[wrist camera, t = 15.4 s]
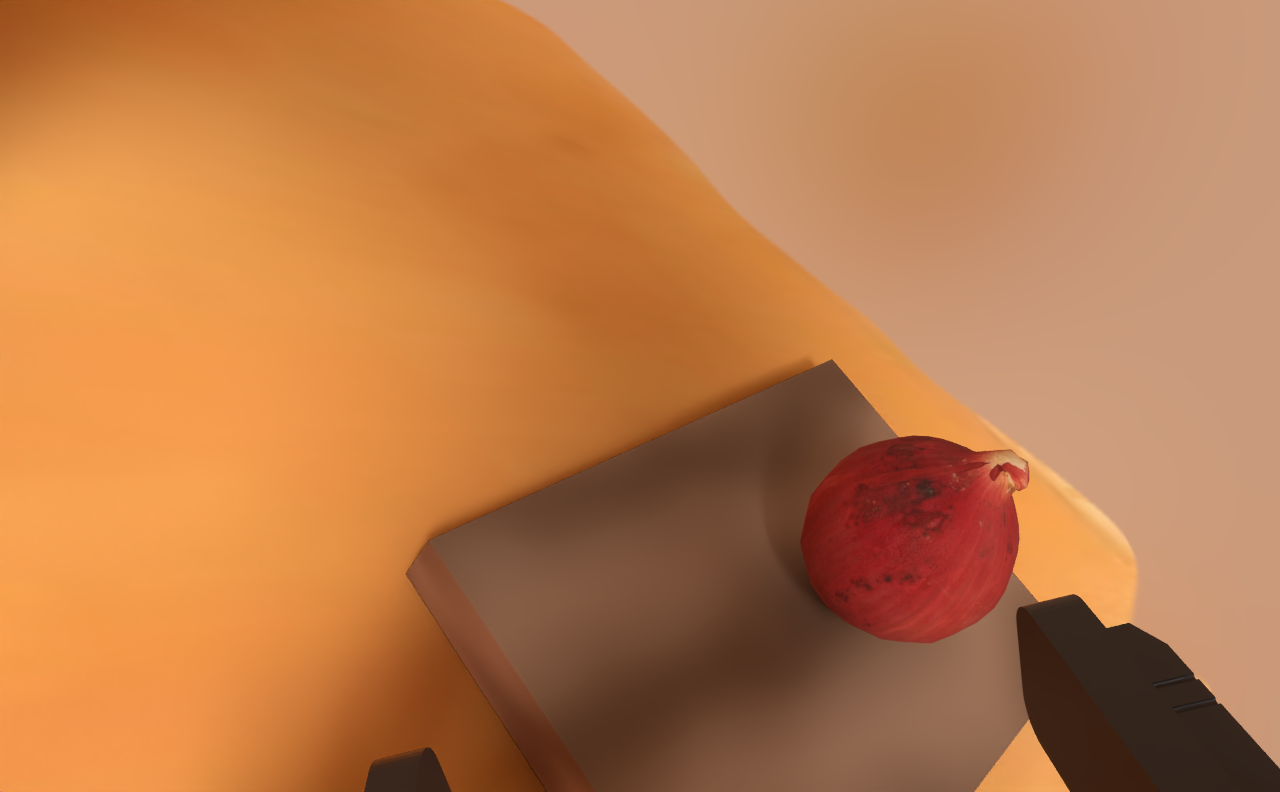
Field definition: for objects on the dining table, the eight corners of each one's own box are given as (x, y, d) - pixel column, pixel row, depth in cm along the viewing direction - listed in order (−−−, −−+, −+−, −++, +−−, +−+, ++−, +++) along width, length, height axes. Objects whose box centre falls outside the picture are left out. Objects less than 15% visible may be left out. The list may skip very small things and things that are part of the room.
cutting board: (405, 573, 26) (428, 540, 25) (805, 386, 40) (832, 359, 39) (728, 1070, 23) (772, 1058, 21) (1042, 671, 37) (1079, 651, 36)
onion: (776, 681, 28) (973, 539, 23) (733, 507, 31) (895, 350, 26) (926, 691, 31) (1134, 567, 25) (872, 530, 34) (1044, 391, 29)
